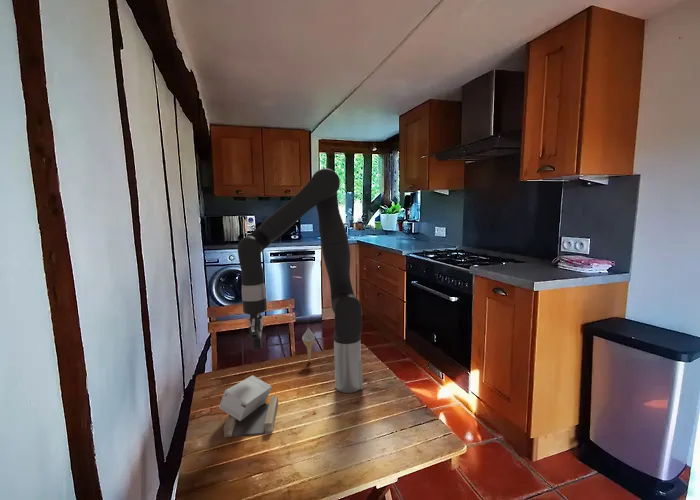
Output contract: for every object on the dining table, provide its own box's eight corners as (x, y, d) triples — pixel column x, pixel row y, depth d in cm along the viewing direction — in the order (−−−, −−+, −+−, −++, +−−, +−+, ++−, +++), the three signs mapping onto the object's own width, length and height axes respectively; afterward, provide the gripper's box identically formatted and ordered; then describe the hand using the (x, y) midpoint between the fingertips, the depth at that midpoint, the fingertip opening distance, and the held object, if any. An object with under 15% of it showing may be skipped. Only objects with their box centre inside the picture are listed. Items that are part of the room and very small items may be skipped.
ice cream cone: (317, 359, 139) (316, 324, 137) (314, 365, 133) (313, 329, 132) (304, 358, 139) (303, 324, 138) (301, 364, 134) (299, 329, 132)
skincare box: (247, 389, 110) (216, 408, 96) (253, 373, 110) (223, 389, 95) (267, 402, 108) (239, 423, 93) (273, 385, 107) (246, 404, 93)
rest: (278, 404, 106) (277, 395, 105) (272, 433, 92) (271, 423, 92) (236, 408, 105) (235, 399, 104) (224, 437, 91) (223, 427, 90)
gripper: (262, 301, 101) (266, 355, 103) (268, 291, 114) (271, 340, 116) (237, 303, 100) (242, 357, 102) (246, 293, 113) (250, 341, 115)
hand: (257, 348), depth 109 cm, fingers closed
